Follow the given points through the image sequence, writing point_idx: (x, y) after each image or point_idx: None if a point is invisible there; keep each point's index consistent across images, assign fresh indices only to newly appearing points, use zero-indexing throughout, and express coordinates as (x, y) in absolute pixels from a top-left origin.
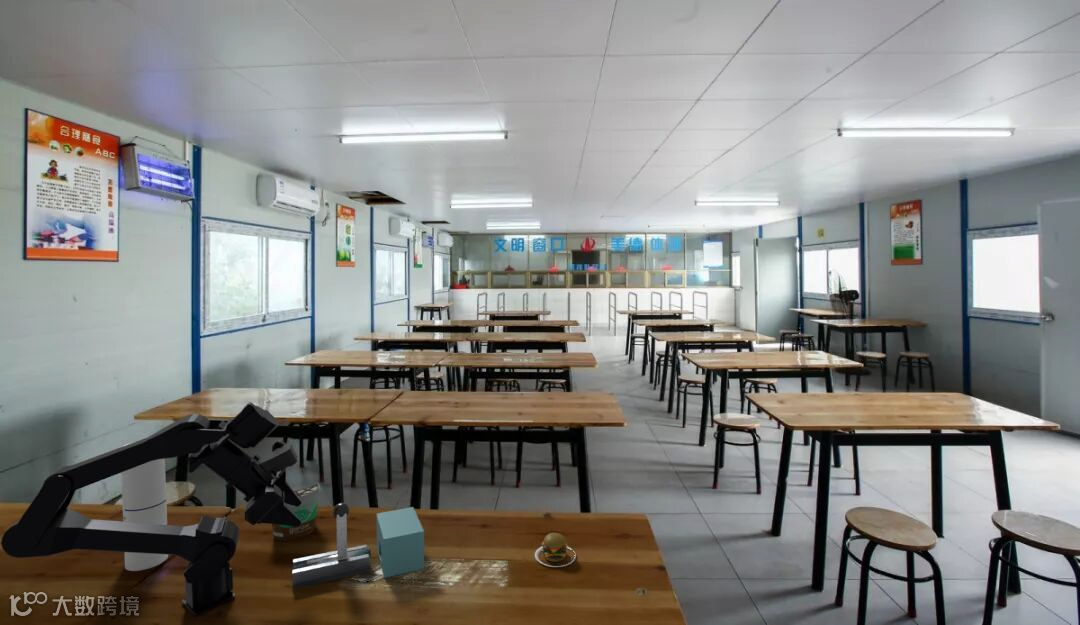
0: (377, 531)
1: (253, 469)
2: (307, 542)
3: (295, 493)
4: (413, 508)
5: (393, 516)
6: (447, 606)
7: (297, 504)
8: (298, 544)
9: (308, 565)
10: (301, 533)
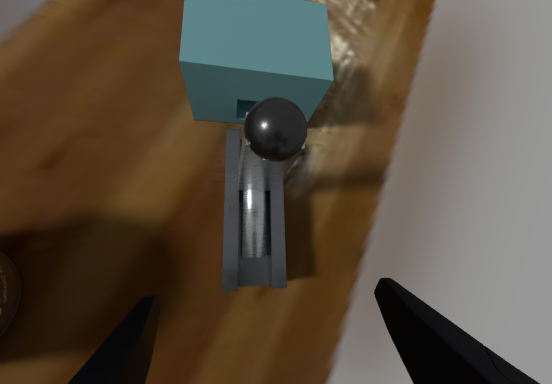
0: (204, 93)
1: None
2: (67, 262)
3: (93, 357)
4: None
5: (221, 31)
6: (395, 74)
7: (154, 317)
8: (65, 286)
9: (264, 253)
10: (11, 282)
